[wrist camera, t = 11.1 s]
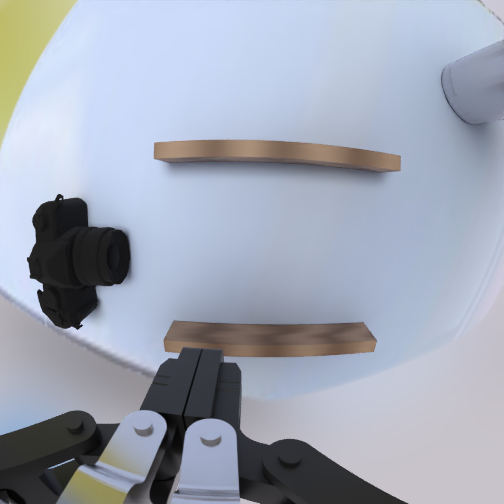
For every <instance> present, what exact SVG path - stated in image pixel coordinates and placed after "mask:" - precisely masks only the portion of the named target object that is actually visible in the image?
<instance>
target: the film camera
mask: <svg viewBox="0 0 504 504" xmlns="http://www.w3.org/2000/svg"><path fill="white" fill-rule="evenodd" d="M60 198H62V200H59V199H60ZM32 223H33V226H34V228H35V231H36V244H35V245H34V247H33V249H32V252H31V254H30V257H27V261H28V263H29V269H30V274H31V275H30V278H31V279H36V280H37V281H39V282H40V283H42V284H43V290H44V291H43V292H42V291H41V290H40V289H39V290H38V291H37V295H38V299H39V303H40V306H41V309H42V311H43V313H45V314H46V315H47V316H48V318H49V319H50V320H51V321H52V322H53V323H54V324H55V325H56V326H58V327H61V328H64V329H67V328H70V327H75V328H76V329H77V330H78V329H79V328H81V327H82V326H83V325H82V324H81V323H80V322H81V321H82V320H83V319H84V318H86V317H87V316H88V315H89V314H90V313H91V312H92V311H93V310H94V309H95V308H96V307H97V301H98V300H97V295H96V290H95V286H96V285H101V286H112V285H113V284H117V285H118V284H121V283H122V282H123V280H124V279H125V277H126V276H127V273H128V269H129V261H130V252H129V243H128V239H127V237H126V235H125V234H124V233H123V232H122V231H121V230H115V229H114V228H110V227H105V228H97V227H88V216H87V204H86V203H85V202H84V201H83V200H82V199H79V198H70V199H63V196H62V195H61V194H58V195H57V197H56V199H55V201H48V202H45V203H43V204H41V206H40V207H39V208H38V209H37V210H36V213H35V214H34V216H33V219H32ZM80 324H81V325H80ZM79 325H80V326H79Z"/></svg>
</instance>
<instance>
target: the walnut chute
mask: <svg viewBox="0 0 504 504" xmlns="http://www.w3.org/2000/svg"><path fill="white" fill-rule="evenodd" d="M154 159H156V160H160V161H164V162H196V161H249V162H277V163H295V164H310V165H322V166H333V167H343V168H352V169H360V170H368V171H375V172H392V171H400V163H401V156H398V155H393V154H387V153H381V152H375V151H369V150H362V149H355V148H348V147H340V146H331V145H322V144H311V143H299V142H285V141H265V140H192V141H172V142H157V143H154ZM376 342H377V340H376V339H375V337H374V336H373V335H372V333H371V332H370V331H369V329H368V328H367V327H366V325H365V324H364V323H363V322H359V323H339V324H303V325H260V324H224V323H203V322H186V321H173V323H172V325H171V327H170V329H169V330H168V332H167V334H166V336H165V338H164V347H165V352H175V353H181V350H182V348H183V347H191V348H202V349H204V348H207V349H223V354H224V356H237V357H304V356H326V355H341V354H354V353H365V352H374V349H375V346H376Z"/></svg>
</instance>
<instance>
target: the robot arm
mask: <svg viewBox="0 0 504 504" xmlns="http://www.w3.org/2000/svg"><path fill="white" fill-rule="evenodd" d="M442 84H443V89H444V92H445V95H446V97H447V99H448V101H449V103H450V105H451V106H452V108H453V110H454V111H455V112H456V113H457V115H458V116H460V117H461V118H462V119H463V120H464V121H466V122H468V123H470V124H479V123H485V122H491V121H498V120H504V40H502V41H499V42H497V43H495V44H492V45H490V46H488V47H485V48H483V49H481V50H479V51H477V52H474V53H472V54H470V55H468V56H466V57H464V58H462V59H460V60H458V61H456V62H454V63H452V64H450V65H448V66H446V67H445V68H444V70H443V73H442ZM240 416H241V370H240V369H239V367H238V365H237V364H236V363H225V362H224V354H223V349H207V348H204V349H202V348H191V347H183V348H182V350H181V353H180V355H179V357H178V359H171V358H169V359H168V360H166V361H165V362H164V363H163V364H162V365H160V367H159V369H158V371H157V373H156V376H155V378H154V380H153V383H152V384H151V386H150V388H149V390H148V393H147V395H146V397H145V399H144V401H143V403H142V406H141V408H140V410H139V411H135V412H132V413H130V414H128V415H127V416H126V417H125V418H124V419H123V420H122V422H121V423H119V424H96V422H95V420H94V418H93V417H92V416H91V415H90V414H88V413H87V412H84V411H70V412H67V413H64V414H62V415H59V416H56V417H54V418H51V419H48V420H46V421H43V422H40V423H37V424H34V425H31V426H29V427H26V428H23V429H20V430H17V431H14V432H10V433H7V434H4V435H0V504H240V498H243V499H246V500H249V501H253V502H257V503H260V504H408V503H406V502H404V501H402V500H400V499H397V498H396V497H393V496H392V495H390V494H388V493H386V492H384V491H382V490H380V489H378V488H377V487H375V486H373V485H371V484H370V483H368V482H366V481H364V480H363V479H361V478H359V477H358V476H356V475H354V474H353V473H351V472H349V471H348V470H346V469H345V468H343V467H341V466H340V465H338V464H337V463H335V462H334V461H332V460H331V459H329V458H328V457H326V456H325V455H323V454H322V453H320V452H319V451H317V450H316V449H315V448H313V447H312V446H310V445H309V444H307V443H306V442H303V441H300V440H295V439H284V440H279V441H277V442H274V443H272V444H271V445H267V444H263V443H259V442H256V441H253V440H251V439H249V438H248V437H246V436H245V435H244V434H243V433H242V432H241V430H240ZM73 458H74V459H75V460H72V461H70V462H68V463H65V464H62V465H60V466H57V467H55V468H52V469H47V468H50V467H52V466H55V465H58V464H60V463H63V462H65V461H68V460H70V459H73ZM180 467H181V468H180ZM178 483H179V487H178V490H177V491H176V489H177V486H178Z"/></svg>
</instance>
